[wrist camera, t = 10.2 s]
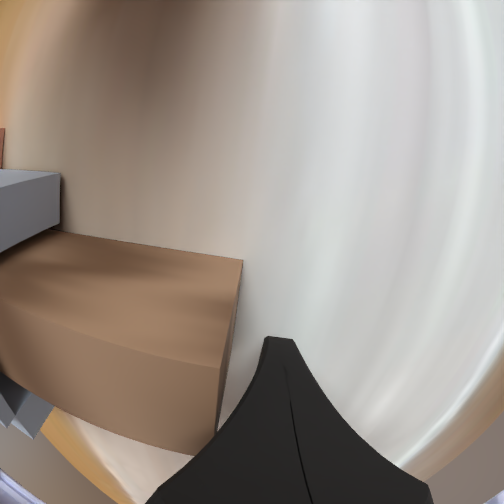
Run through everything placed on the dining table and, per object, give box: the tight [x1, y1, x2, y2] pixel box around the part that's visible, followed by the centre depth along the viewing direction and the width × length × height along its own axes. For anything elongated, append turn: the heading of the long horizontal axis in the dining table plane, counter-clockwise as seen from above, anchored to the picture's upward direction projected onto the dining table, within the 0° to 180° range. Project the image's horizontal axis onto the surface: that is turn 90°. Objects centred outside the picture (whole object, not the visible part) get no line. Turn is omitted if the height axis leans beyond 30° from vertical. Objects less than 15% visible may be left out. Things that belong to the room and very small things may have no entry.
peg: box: [0, 229, 243, 456], centre depth 7 cm, size 11×4×5 cm, turn 82°
